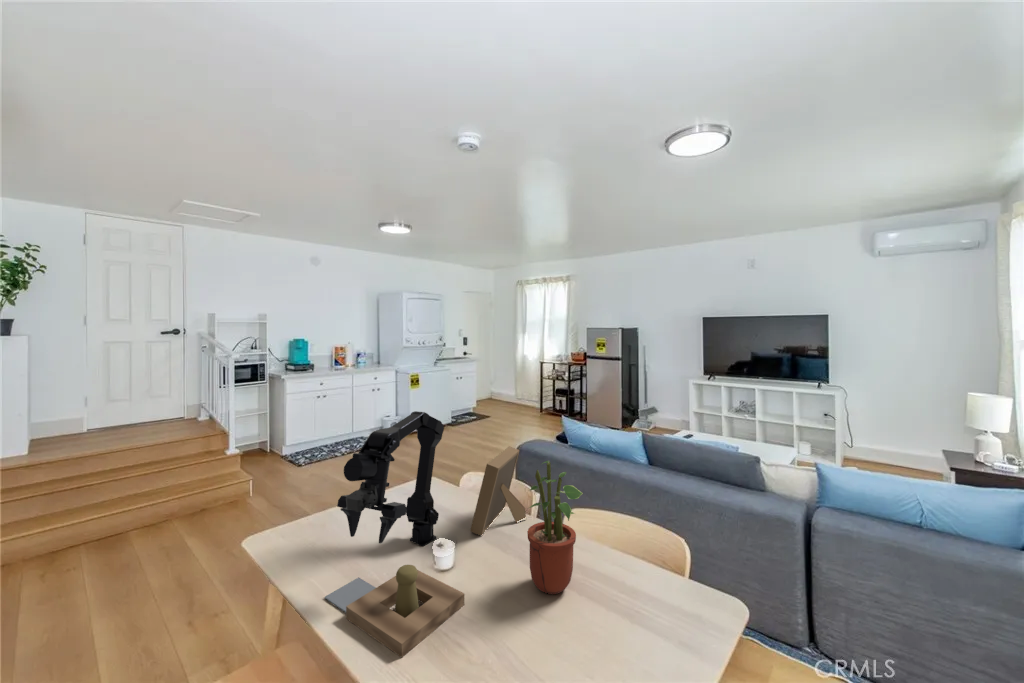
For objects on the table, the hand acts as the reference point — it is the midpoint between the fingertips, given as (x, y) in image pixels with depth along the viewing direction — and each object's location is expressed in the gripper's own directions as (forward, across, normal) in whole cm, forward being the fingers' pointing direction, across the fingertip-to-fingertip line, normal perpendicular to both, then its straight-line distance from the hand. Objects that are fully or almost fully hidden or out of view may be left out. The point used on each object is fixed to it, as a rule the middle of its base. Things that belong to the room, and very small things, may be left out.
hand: (366, 539), depth 107 cm
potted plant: (+8, +45, +24) cm, 52 cm away
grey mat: (+14, -2, +1) cm, 14 cm away
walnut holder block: (+14, +15, 0) cm, 20 cm away
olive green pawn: (+14, +15, +1) cm, 21 cm away
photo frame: (+1, +20, +49) cm, 53 cm away
